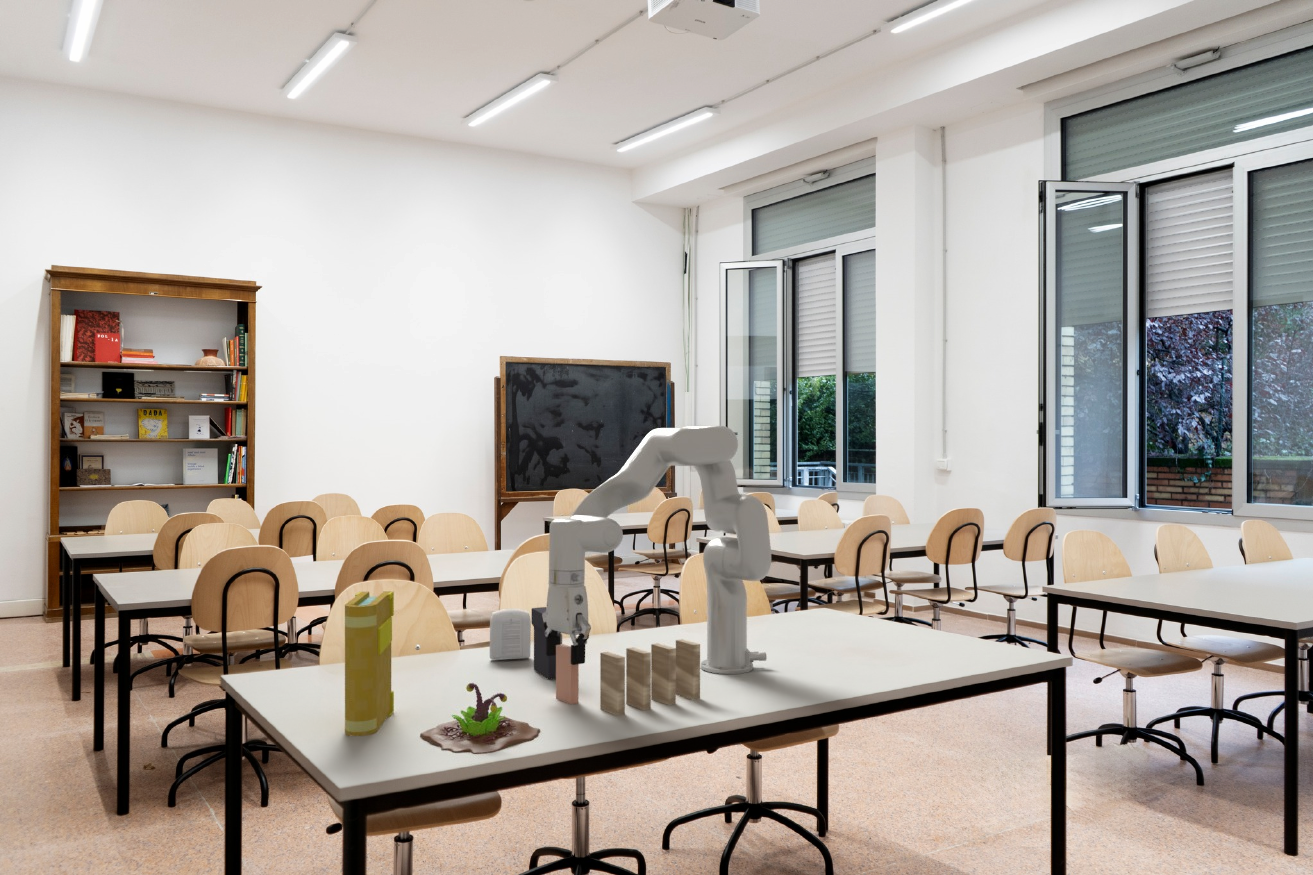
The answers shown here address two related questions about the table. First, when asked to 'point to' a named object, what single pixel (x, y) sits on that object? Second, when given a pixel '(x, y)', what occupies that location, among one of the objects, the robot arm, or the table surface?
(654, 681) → the domino
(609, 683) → the domino
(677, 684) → the domino
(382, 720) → the book
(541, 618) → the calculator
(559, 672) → the domino
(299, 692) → the table surface
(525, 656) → the grey headstone
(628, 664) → the domino
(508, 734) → the plant
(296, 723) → the table surface
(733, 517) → the robot arm
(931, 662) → the table surface
